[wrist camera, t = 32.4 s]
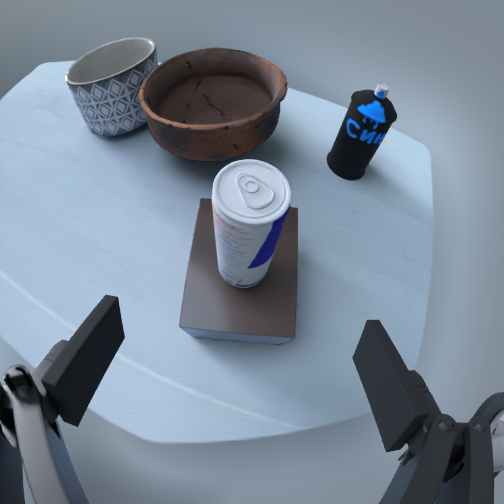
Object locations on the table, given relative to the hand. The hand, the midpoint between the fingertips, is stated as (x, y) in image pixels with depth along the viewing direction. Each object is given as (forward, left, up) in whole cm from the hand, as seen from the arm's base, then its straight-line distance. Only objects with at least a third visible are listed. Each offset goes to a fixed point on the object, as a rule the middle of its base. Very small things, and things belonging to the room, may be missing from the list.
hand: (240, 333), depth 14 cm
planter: (+51, +24, -26) cm, 62 cm away
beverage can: (+10, -1, -16) cm, 19 cm away
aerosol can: (+34, -23, -26) cm, 48 cm away
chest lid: (+10, -1, -17) cm, 20 cm away
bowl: (+40, +3, -26) cm, 47 cm away
